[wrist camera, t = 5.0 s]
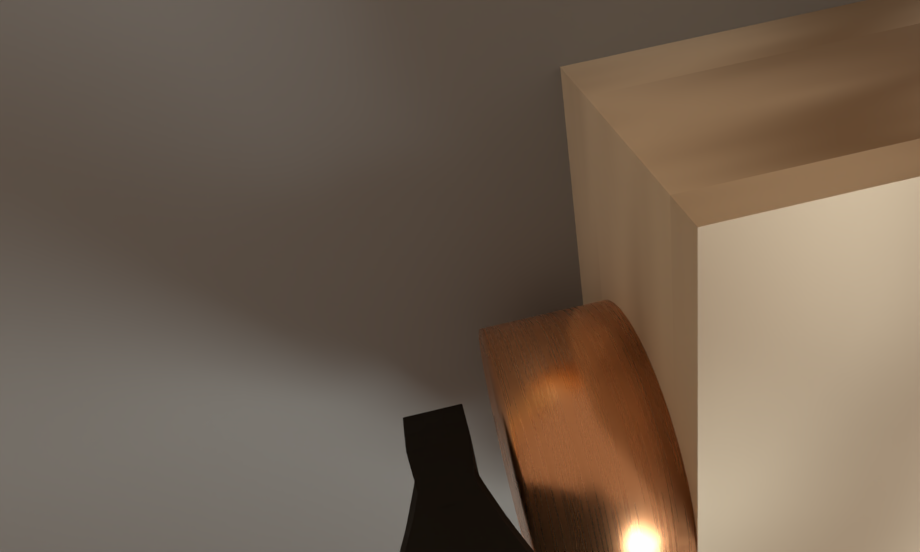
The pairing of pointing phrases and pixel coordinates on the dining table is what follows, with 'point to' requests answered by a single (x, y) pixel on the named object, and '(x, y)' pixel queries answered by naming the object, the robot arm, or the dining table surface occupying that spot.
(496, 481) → the mat
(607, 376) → the pin
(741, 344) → the hitch block
